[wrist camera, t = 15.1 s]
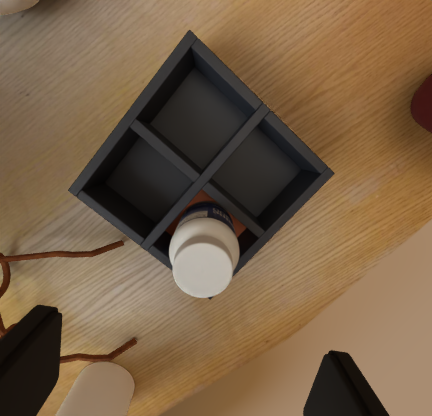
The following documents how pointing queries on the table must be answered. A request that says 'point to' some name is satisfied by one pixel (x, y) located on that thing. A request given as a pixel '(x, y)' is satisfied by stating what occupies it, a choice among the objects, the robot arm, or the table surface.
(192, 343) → the table surface
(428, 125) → the mug
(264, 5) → the table surface
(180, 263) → the pill bottle
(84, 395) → the cylindrical container
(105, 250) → the glasses
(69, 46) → the table surface
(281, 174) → the divided storage tray
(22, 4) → the white animal figurine
